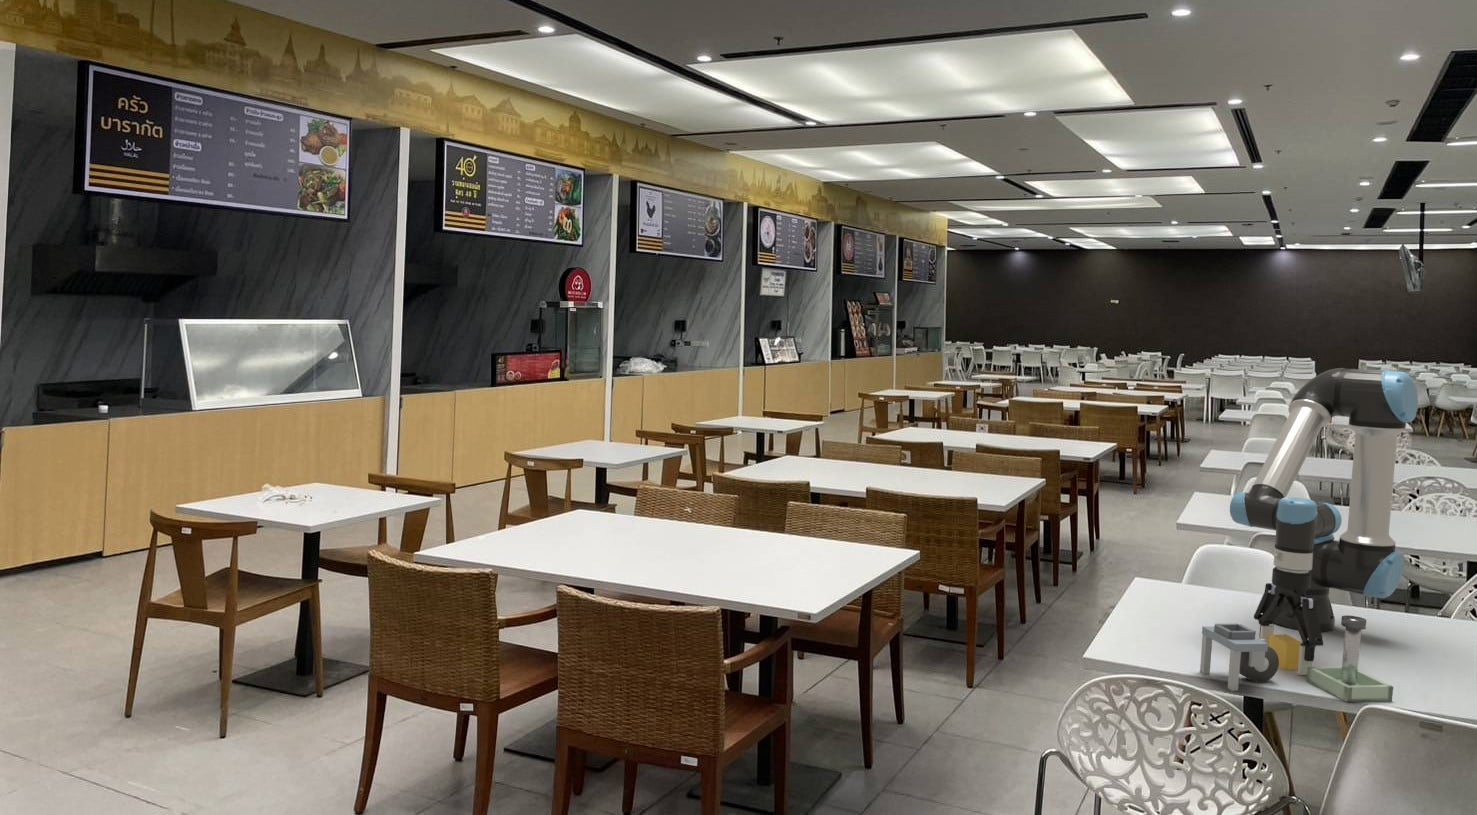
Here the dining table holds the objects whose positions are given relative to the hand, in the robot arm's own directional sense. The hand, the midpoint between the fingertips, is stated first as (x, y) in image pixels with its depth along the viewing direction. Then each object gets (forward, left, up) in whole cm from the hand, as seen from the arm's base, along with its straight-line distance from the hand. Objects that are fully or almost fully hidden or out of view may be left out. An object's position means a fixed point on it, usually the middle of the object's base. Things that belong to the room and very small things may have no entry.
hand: (1284, 664), depth 231 cm
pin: (-3, +16, 0) cm, 16 cm away
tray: (-3, +16, 0) cm, 16 cm away
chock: (0, 0, 0) cm, 0 cm away
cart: (+15, +9, 0) cm, 18 cm away
